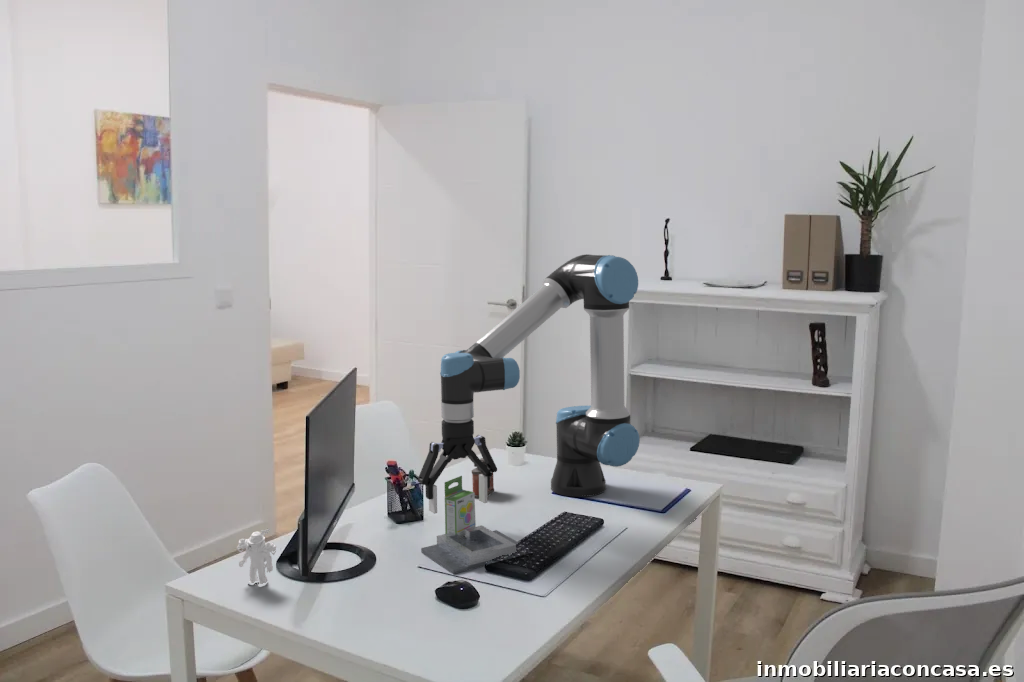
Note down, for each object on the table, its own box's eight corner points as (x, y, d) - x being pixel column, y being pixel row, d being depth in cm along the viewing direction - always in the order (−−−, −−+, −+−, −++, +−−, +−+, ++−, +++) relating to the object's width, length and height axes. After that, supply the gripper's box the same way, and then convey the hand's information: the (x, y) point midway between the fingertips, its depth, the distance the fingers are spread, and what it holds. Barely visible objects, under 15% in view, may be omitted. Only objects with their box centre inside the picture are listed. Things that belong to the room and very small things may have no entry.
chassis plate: (496, 534, 211) (496, 522, 211) (531, 553, 199) (531, 540, 198) (421, 552, 201) (420, 539, 200) (453, 574, 188) (452, 560, 188)
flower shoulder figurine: (281, 583, 185) (278, 527, 183) (270, 590, 182) (267, 534, 180) (246, 577, 188) (242, 523, 187) (234, 584, 185) (230, 529, 183)
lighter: (487, 489, 246) (486, 454, 244) (497, 491, 244) (496, 456, 242) (469, 497, 239) (468, 461, 238) (479, 499, 237) (478, 463, 236)
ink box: (457, 540, 208) (456, 485, 206) (444, 537, 210) (443, 482, 208) (476, 531, 213) (474, 477, 212) (463, 528, 216) (462, 475, 214)
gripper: (494, 410, 218) (495, 493, 220) (402, 422, 204) (404, 511, 207) (511, 415, 211) (511, 501, 214) (416, 429, 198) (418, 520, 201)
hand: (458, 506), depth 211 cm, fingers open, 13 cm apart
